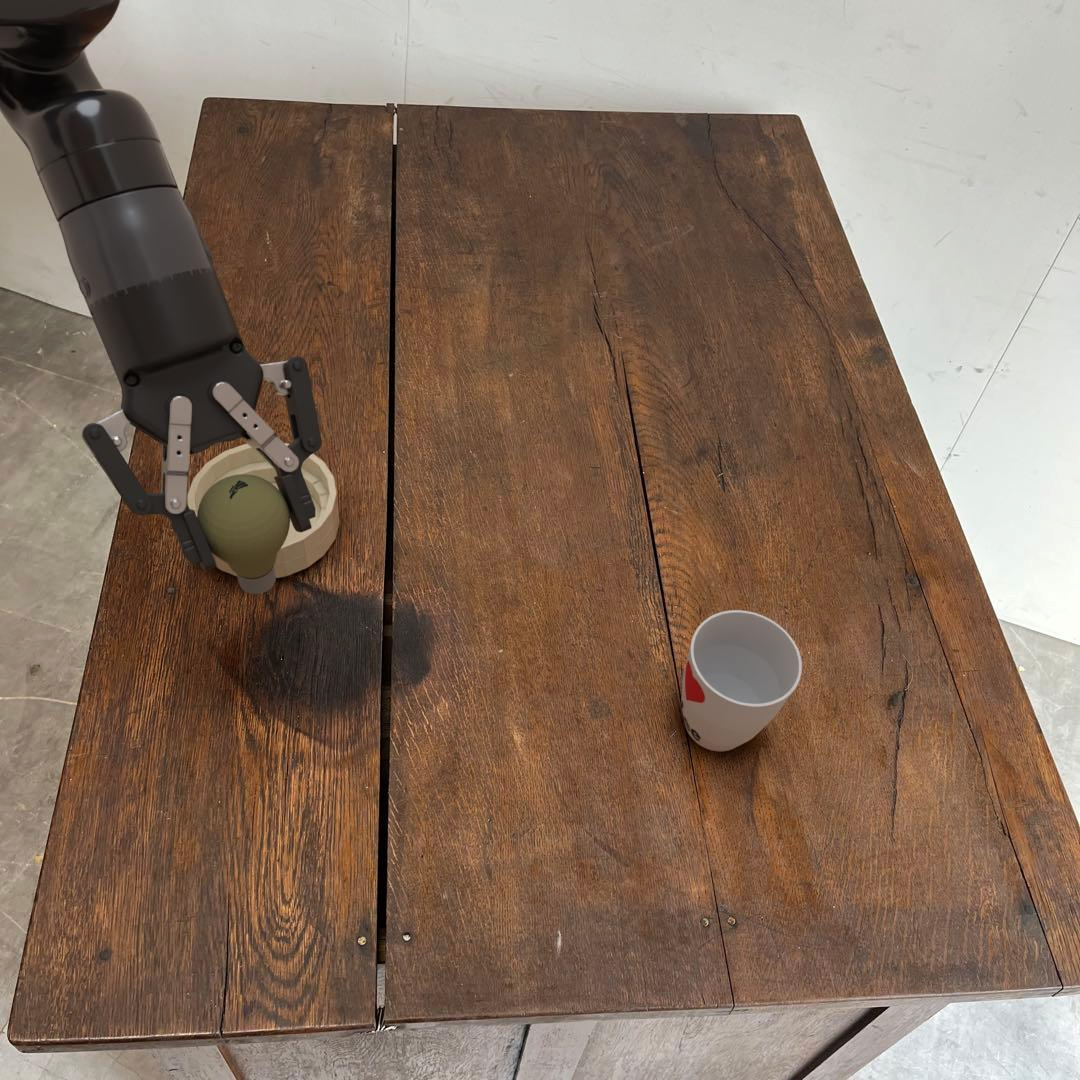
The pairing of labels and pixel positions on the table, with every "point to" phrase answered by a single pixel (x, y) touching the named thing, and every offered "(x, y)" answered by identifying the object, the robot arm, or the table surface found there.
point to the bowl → (318, 478)
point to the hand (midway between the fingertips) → (256, 547)
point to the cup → (736, 678)
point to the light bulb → (246, 527)
